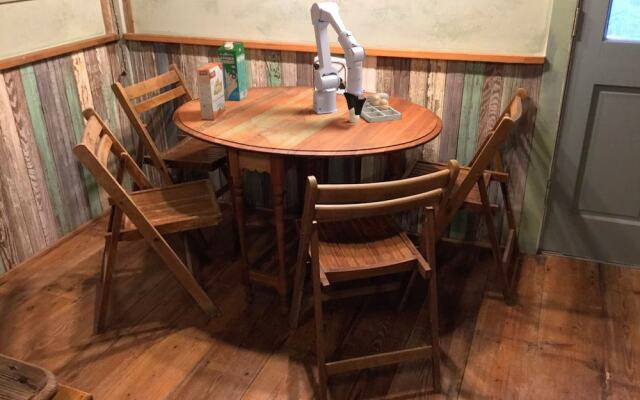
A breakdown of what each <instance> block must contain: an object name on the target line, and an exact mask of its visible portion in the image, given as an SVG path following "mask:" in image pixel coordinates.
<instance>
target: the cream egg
mask: <svg viewBox="0 0 640 400" xmlns="http://www.w3.org/2000/svg"><path fill="white" fill-rule="evenodd" d="M348 113H349V115H348V116H349V117H348V118H349V119H348V122H349V123H352V124H355V123H360V115H357V116H356V115H355V111H354V108H352V109H351V110H349V112H348Z"/></svg>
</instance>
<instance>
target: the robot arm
mask: <svg viewBox="0 0 640 400" xmlns="http://www.w3.org/2000/svg"><path fill="white" fill-rule="evenodd" d="M309 11H310V17H311V24H312V26H313V29H314V35H315V46H316V51H317V53H316V54H317V59H318V68H317V70H316V71H315V72H314V81H313V84H314V88H315V89H316V90H317V91H313V93H312V105H313V107H312V110H313V111H314V112H315V113H316V114H317V115H321V114H330V113H336V112H340V110H339V109H337V105H336V104H337V101H336V100H337V91H338V88H339V87H340V85H341V77H340V75H339V72H338V71H339V70H338V69H337V68H335V67H334V66H333V63H332V57H331V50H330V49H331V48H330V41H329V35H328V25H329V24H330V25H331V27H332V28H333V30H334V31H335V32H336V34H337V35H338V37H337V41H338V43H339V45H340V46H341V49H342V50H343V52H344V54H343V55H344V56H343V57H344V61H345V65H346V68H347V74H346V75H347V77H346V80H347V81H346V82H347V84H346V85H345V92H343V96H344V98H345V102H346V106H347V109H348V111H350V110H351V109H352V108H354V111H355V115H356V116H357V115H359V116H360V115H361V112H362V108H363V105H364V103H366V102H367V101H366V98H367V97H366V96H365V93H364V92H365V88H364V87H363V62H364V61H365V59H366V55H367V54H366V49H365V47H364V46H363V45H361V44H359V43H357V41H356V39H355V37H354V36H353V34H352V32H351V31H350V30H347V29H346V28H345V25H344V23H343V20H342V19H341V17H340V8H339V5H338V4H337V2H336V1H335V0H333V1H325V2H323V1H322V2H313V3H312V6H311V8H310V9H309Z"/></svg>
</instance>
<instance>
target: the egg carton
mask: <svg viewBox="0 0 640 400" xmlns="http://www.w3.org/2000/svg"><path fill="white" fill-rule="evenodd" d="M402 114H403V113H401V112H399V111H398V110H396V109H394V108H393V107H391V106H390V105H388V110H385V111H379V106H376V107H373V106H372V105H371V102H369V103H367V102H365V103H364V105H363V108H362V112H361V115H359V117H361V118H363V119H365V120H366V121H367V122H368V123H370V124H371V123H381V122H388V121H397V120H402V118H403V117H402Z"/></svg>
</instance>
